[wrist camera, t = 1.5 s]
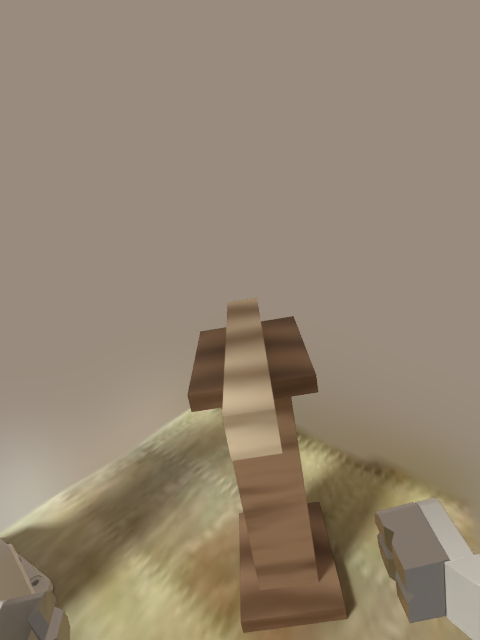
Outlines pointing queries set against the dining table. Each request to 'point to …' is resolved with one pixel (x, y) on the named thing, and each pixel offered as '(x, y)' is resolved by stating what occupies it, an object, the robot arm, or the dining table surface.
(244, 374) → the bar
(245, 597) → the stand
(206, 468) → the dining table surface
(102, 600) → the dining table surface
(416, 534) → the robot arm
